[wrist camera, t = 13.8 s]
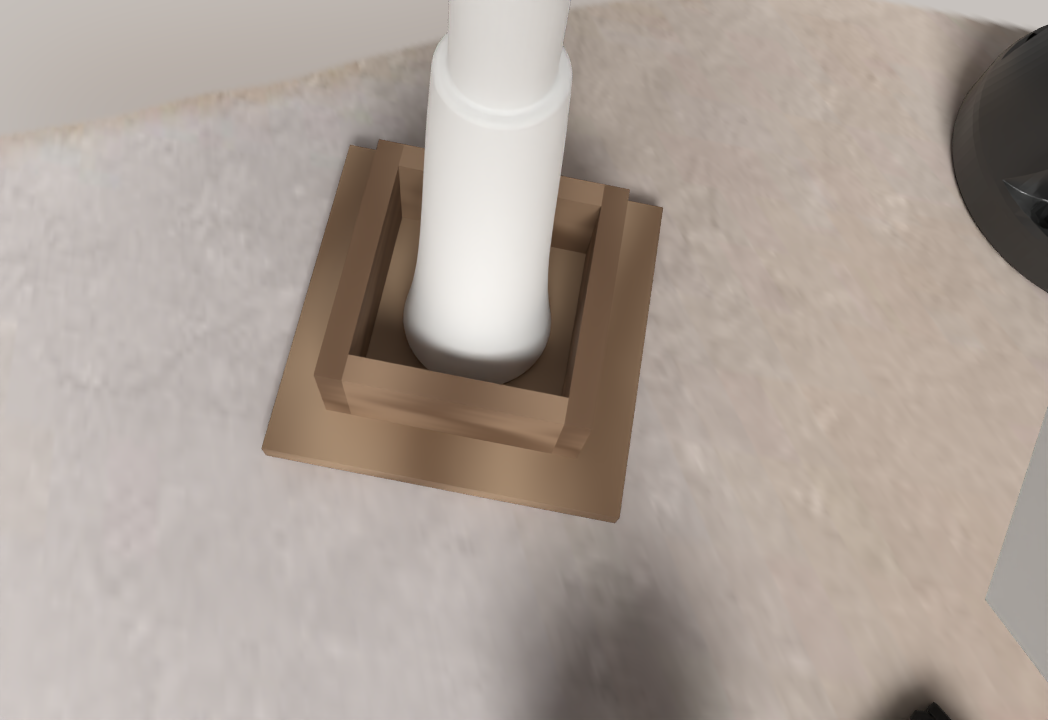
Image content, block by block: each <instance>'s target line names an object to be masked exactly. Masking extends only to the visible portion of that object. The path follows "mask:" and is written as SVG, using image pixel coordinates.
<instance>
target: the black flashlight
mask: <svg viewBox="0 0 1048 720" xmlns="http://www.w3.org/2000/svg"><path fill="white" fill-rule="evenodd" d="M927 711H928V712H929V713H930V714H929V713H928V712H927ZM927 711H918V710H915V712H914V713H913V715H912V716H911V718H910V720H951V719H950V718H949V717H948V715H947V714H946V713H945V712H944V711H943V710H942V709H941V708H940V707H939V706H938V705H937V704H936V703H935V702H933V703H932V704H931V705H930V706H929V707H928V708H927Z"/></svg>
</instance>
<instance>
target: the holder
mask: <svg viewBox="0 0 1048 720" xmlns="http://www.w3.org/2000/svg"><path fill="white" fill-rule="evenodd" d="M424 154H425V148H420V147H415V146H410V145H406V144H401V143H396V142H391V141H386V140H381V139H379V141H378V145H377V149H376V150H374V149H369V148H364V147H359V146H354V145H350V147H349V150H348V154H347V157H346V160H345V164H344V167H343V171H342V174H341V178H340V181H339V184H338V188H337V191H336V195H335V198H334V202H333V205H332V208H331V212H330V215H329V219H328V222H327V226H326V229H325V232H324V236H323V239H322V243H321V246H320V250H319V253H318V256H317V260H316V263H315V267H314V270H313V274H312V277H311V280H310V284H309V287H308V291H307V294H306V298H305V301H304V304H303V308H302V311H301V315H300V318H299V322H298V325H297V328H296V332H295V335H294V339H293V342H292V346H291V349H290V353H289V356H288V359H287V363H286V366H285V370H284V373H283V377H282V380H281V383H280V387H279V390H278V394H277V397H276V401H275V404H274V407H273V411H272V414H271V418H270V421H269V425H268V428H267V431H266V435H265V438H264V442H263V445H262V450H263V451H264V453H265V454H266V455H268V456H273V457H278V458H283V459H288V460H294V461H299V462H304V463H309V464H314V465H319V466H324V467H329V468H335V469H340V470H345V471H350V472H355V473H360V474H365V475H370V476H376V477H381V478H386V479H391V480H396V481H401V482H406V483H412V484H417V485H422V486H427V487H432V488H437V489H442V490H447V491H453V492H458V493H463V494H468V495H473V496H478V497H483V498H488V499H494V500H499V501H504V502H509V503H514V504H519V505H524V506H530V507H535V508H540V509H545V510H550V511H555V512H560V513H565V514H571V515H576V516H581V517H586V518H591V519H596V520H601V521H606V522H612V523H615V522H616V521H617V520H618V519H619V517H620V510H621V503H622V496H623V489H624V481H625V474H626V467H627V460H628V453H629V446H630V439H631V432H632V425H633V418H634V410H635V403H636V396H637V389H638V382H639V375H640V368H641V361H642V354H643V346H644V339H645V332H646V325H647V318H648V311H649V304H650V297H651V290H652V283H653V275H654V268H655V261H656V254H657V247H658V240H659V233H660V226H661V219H662V212H663V207H658V206H653V205H648V204H643V203H638V202H633V201H628V198H629V192H630V190H629V189H625V188H620V187H615V186H610V185H605V184H600V183H595V182H590V181H585V180H580V179H575V178H570V177H565V176H560V183H559V189H558V196H557V203H556V210H555V216H554V223H553V231H552V238H551V246H550V254H549V267H548V299H549V306H550V312H551V329H550V334H549V338H548V341H547V344H546V346H545V348H544V350H543V352H542V354H541V355H540V357H539V358H538V360H537V361H536V362H535V363H534V364H533V365H532V366H531V367H530V368H529V369H528V370H527V371H526V372H524V373H523V374H522V375H520V376H519V377H517V378H515V379H513V380H511V381H509V382H506V383H503V384H496V383H491V382H486V381H481V380H475V379H470V378H465V377H460V376H455V375H450V374H445V373H440V372H435V371H430V370H428V369H427V368H426V367H425V366H424V365H423V364H422V363H421V362H420V361H419V360H418V358H417V357H416V356H415V354H414V353H413V351H412V349H411V347H410V346H409V343H408V341H407V338H406V334H405V330H404V323H403V312H404V306H405V302H406V298H407V295H408V293H409V290H410V288H411V285H412V281H413V277H414V273H415V268H416V263H417V256H418V248H419V238H420V225H421V210H422V193H423V173H424Z"/></svg>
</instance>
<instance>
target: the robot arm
mask: <svg viewBox="0 0 1048 720" xmlns="http://www.w3.org/2000/svg"><path fill="white" fill-rule="evenodd" d="M952 147H953V162H954V169H955V174H956V178H957V181H958V185H959V188H960V191H961V194H962V196H963V199H964V201H965V203H966V205H967V208H968V210H969V211H970V213H971V215H972V217H973V219H974V220H975V222H976V224H977V225H978V227H979V228H980V230H981V231H982V233H983V234H984V235H985V237H986V238H987V239H988V241H989V242H990V243H991V244H992V246H993V247H994V248H995V249H996V250H997V251H998V252H999V253H1000V255H1001V256H1002V257H1003V258H1004V259H1005V260H1006V261H1007V262H1008V263H1009V264H1010V265H1012V266H1013V267H1014V268H1015V269H1016V270H1017V271H1018V272H1020V273H1021V274H1022V275H1023V276H1025V277H1026V278H1027V279H1028V280H1030V281H1031V282H1032V283H1034V284H1035V285H1037V286H1038V287H1040V288H1041V289H1043V290H1044V291H1046V292H1048V25H1046V26H1043V27H1041V28H1039V29H1037V30H1035V31H1033V32H1031V33H1030V34H1028V35H1026V36H1024V37H1023V38H1021V39H1019V40H1018V41H1017V42H1015V43H1014V44H1013V45H1011V46H1010V47H1009V48H1008V49H1006V50H1005V51H1004V52H1003V53H1002V54H1001V55H1000V56H999V57H998V58H997V59H996V60H995V61H994V62H993V64H992V65H991V66H990V67H989V68H988V69H987V71H986V72H985V73H984V74H983V75H982V76H981V78H980V79H979V80H978V81H977V82H976V84H975V85H974V86H973V87H972V89H971V90H970V91H969V93H968V94H967V96H966V97H965V99H964V101H963V103H962V105H961V107H960V109H959V112H958V115H957V118H956V122H955V126H954V133H953V145H952ZM985 600H986V601H987V603H988V604H989V605H990V607H991V608H992V609H993V611H994V612H995V613H996V615H997V616H998V617H999V619H1000V620H1001V621H1002V622H1003V624H1004V625H1005V626H1006V628H1007V629H1008V630H1009V632H1010V633H1011V634H1012V636H1013V637H1014V638H1015V640H1016V641H1017V642H1018V644H1019V645H1020V646H1021V648H1022V649H1023V650H1024V652H1025V653H1026V654H1027V656H1028V657H1029V658H1030V660H1031V661H1032V662H1033V664H1034V665H1035V666H1036V668H1037V669H1038V670H1039V672H1040V673H1041V674H1042V675H1043V677H1044V678H1045V679H1046V681H1047V682H1048V407H1047V411H1046V414H1045V417H1044V420H1043V423H1042V426H1041V429H1040V432H1039V435H1038V438H1037V441H1036V444H1035V447H1034V450H1033V454H1032V457H1031V460H1030V463H1029V466H1028V469H1027V472H1026V475H1025V478H1024V481H1023V484H1022V487H1021V490H1020V493H1019V496H1018V500H1017V503H1016V506H1015V509H1014V512H1013V515H1012V518H1011V521H1010V524H1009V527H1008V530H1007V533H1006V536H1005V539H1004V543H1003V546H1002V549H1001V552H1000V555H999V558H998V561H997V564H996V567H995V570H994V573H993V576H992V579H991V582H990V585H989V589H988V592H987V595H986V598H985Z"/></svg>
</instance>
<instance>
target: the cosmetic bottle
mask: <svg viewBox="0 0 1048 720" xmlns="http://www.w3.org/2000/svg"><path fill="white" fill-rule="evenodd" d="M570 3H571V0H449V13H448V14H449V15H448V32H447V33H446V34H445V35H444V36H443V37H442V39H441V40H440V42H439V43H438V45H437V47H436V49H435V52H434V54H433V58H432V64H431V74H430V85H429V97H428V108H427V122H426V137H425V154H424V173H423V193H422V210H421V225H420V238H419V248H418V256H417V263H416V268H415V273H414V277H413V281H412V285H411V288H410V290H409V293H408V295H407V298H406V302H405V306H404V312H403V323H404V330H405V334H406V338H407V341H408V343H409V346H410V347H411V349H412V351H413V353H414V354H415V356H416V357H417V358H418V360H419V361H420V362H421V363H422V364H423V365H424V366H425V367H426V368H427V369H428V370H430V371H435V372H440V373H445V374H450V375H455V376H460V377H465V378H470V379H475V380H481V381H486V382H491V383H496V384H503V383H506V382H509V381H511V380H513V379H515V378H517V377H519V376H520V375H522V374H523V373H524V372H526V371H527V370H528V369H529V368H530V367H531V366H532V365H533V364H534V363H535V362H536V361H537V360H538V358H539V357H540V355H541V354H542V352H543V350H544V348H545V346H546V344H547V341H548V338H549V334H550V329H551V312H550V306H549V299H548V267H549V254H550V246H551V238H552V231H553V223H554V216H555V210H556V203H557V196H558V189H559V183H560V176H561V169H562V162H563V155H564V147H565V140H566V132H567V124H568V115H569V106H570V97H571V88H572V66H571V62H570V58H569V56H568V53H567V51H566V49H565V48H564V46H563V41H564V35H565V30H566V24H567V19H568V14H569V8H570Z"/></svg>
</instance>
